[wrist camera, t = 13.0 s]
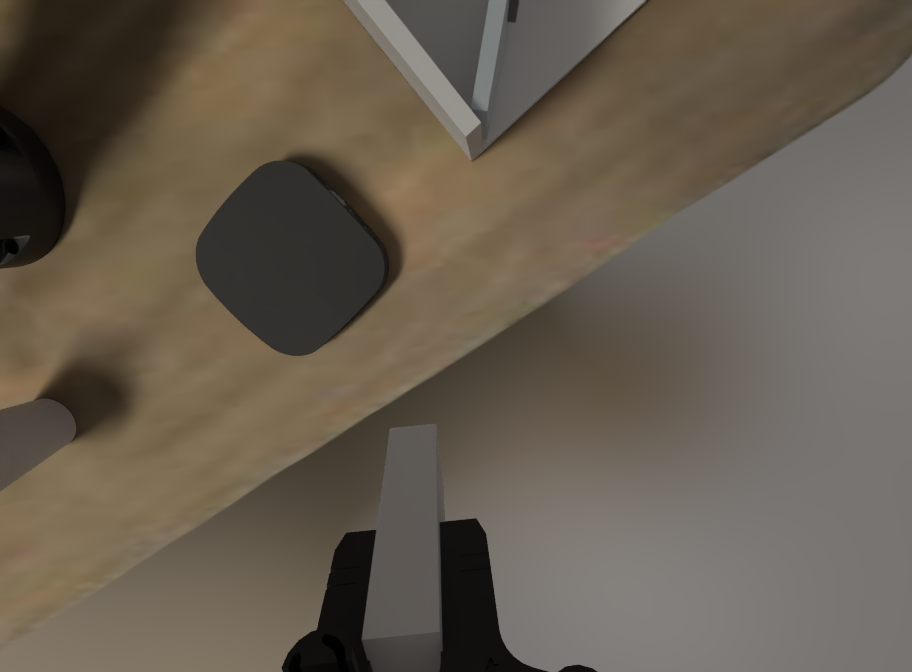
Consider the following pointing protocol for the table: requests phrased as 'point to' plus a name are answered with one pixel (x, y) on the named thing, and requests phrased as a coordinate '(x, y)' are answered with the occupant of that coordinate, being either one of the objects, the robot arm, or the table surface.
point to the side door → (491, 58)
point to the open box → (459, 44)
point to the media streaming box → (290, 258)
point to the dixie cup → (32, 436)
